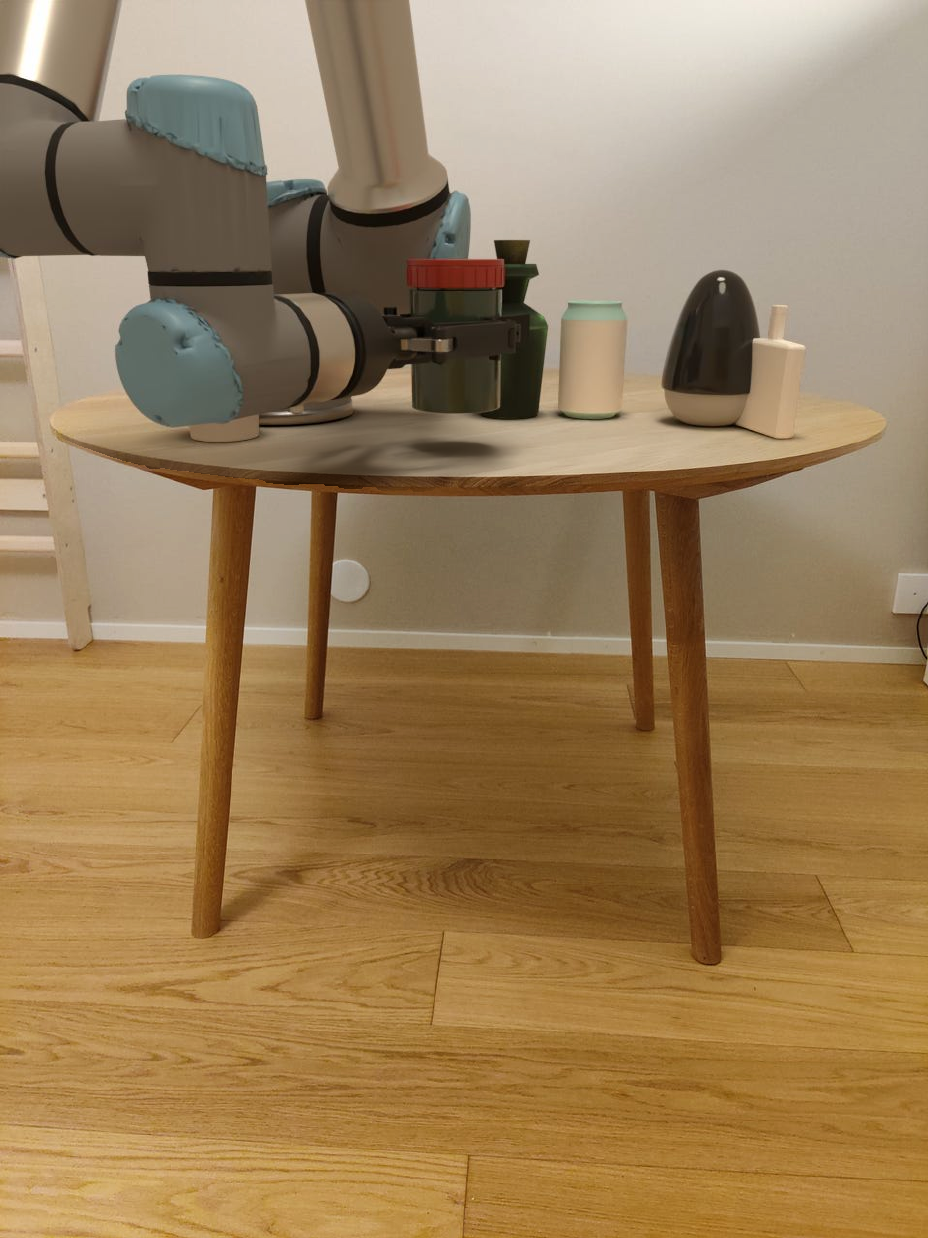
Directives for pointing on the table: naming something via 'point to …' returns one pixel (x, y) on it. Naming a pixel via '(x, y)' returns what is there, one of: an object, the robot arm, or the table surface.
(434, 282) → the lid
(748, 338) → the black and white egg
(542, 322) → the potion bottle
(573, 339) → the can
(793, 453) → the table surface
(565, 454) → the table surface
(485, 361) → the jar
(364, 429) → the table surface
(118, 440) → the table surface
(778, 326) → the perfume bottle
